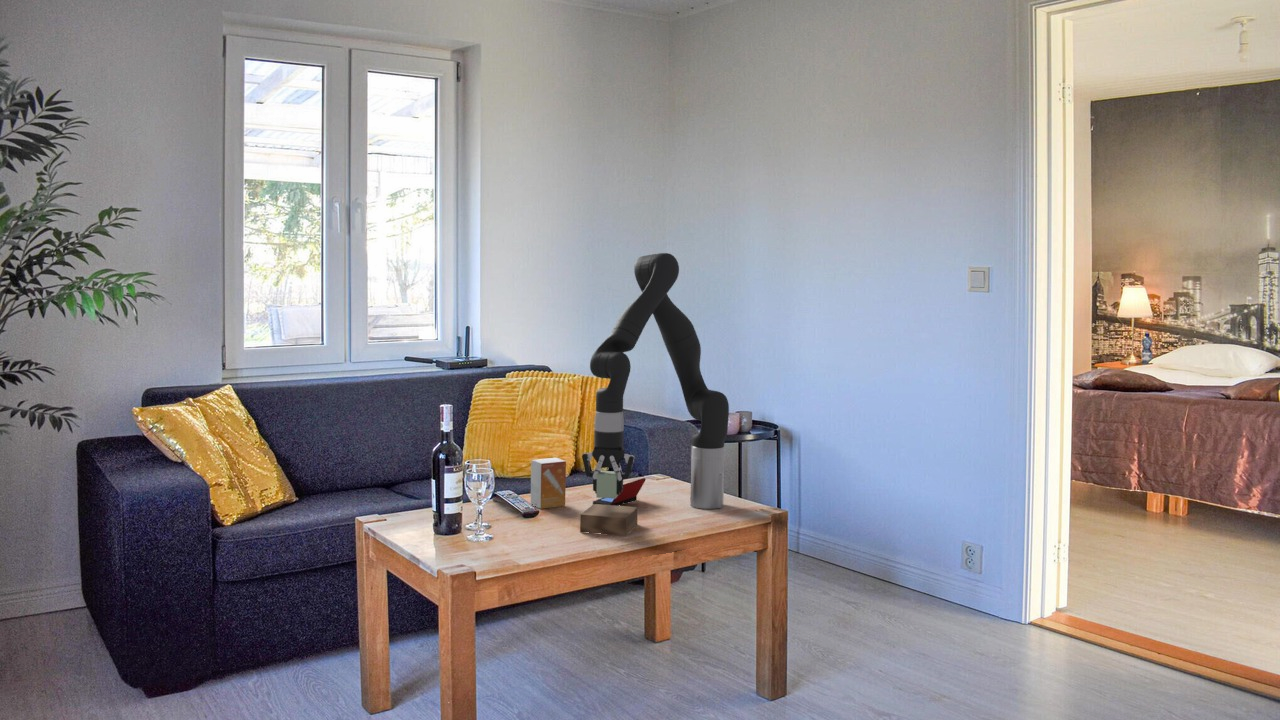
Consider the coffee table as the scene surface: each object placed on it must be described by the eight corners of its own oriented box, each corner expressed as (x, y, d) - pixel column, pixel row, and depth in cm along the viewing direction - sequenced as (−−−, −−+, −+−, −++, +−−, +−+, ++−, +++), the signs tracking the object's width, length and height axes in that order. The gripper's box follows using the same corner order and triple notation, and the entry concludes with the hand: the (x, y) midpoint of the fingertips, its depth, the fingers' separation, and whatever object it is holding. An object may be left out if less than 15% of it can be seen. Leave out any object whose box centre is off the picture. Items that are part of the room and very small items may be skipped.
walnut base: (637, 525, 263) (637, 507, 262) (625, 537, 251) (625, 518, 251) (593, 522, 266) (594, 503, 265) (580, 533, 254) (580, 514, 254)
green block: (619, 494, 260) (619, 471, 260) (615, 498, 255) (616, 475, 255) (600, 493, 261) (600, 470, 261) (596, 497, 256) (596, 474, 256)
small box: (540, 509, 277) (540, 463, 276) (530, 504, 282) (530, 459, 281) (566, 506, 282) (566, 460, 280) (555, 501, 287) (555, 456, 286)
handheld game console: (616, 497, 295) (616, 472, 294) (646, 502, 289) (647, 477, 288) (590, 505, 284) (591, 479, 284) (621, 511, 278) (622, 484, 278)
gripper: (638, 427, 259) (637, 492, 261) (584, 425, 262) (583, 489, 263) (634, 432, 252) (632, 498, 253) (578, 429, 254) (577, 495, 256)
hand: (607, 493), depth 258 cm, fingers closed on green block, 5 cm apart
